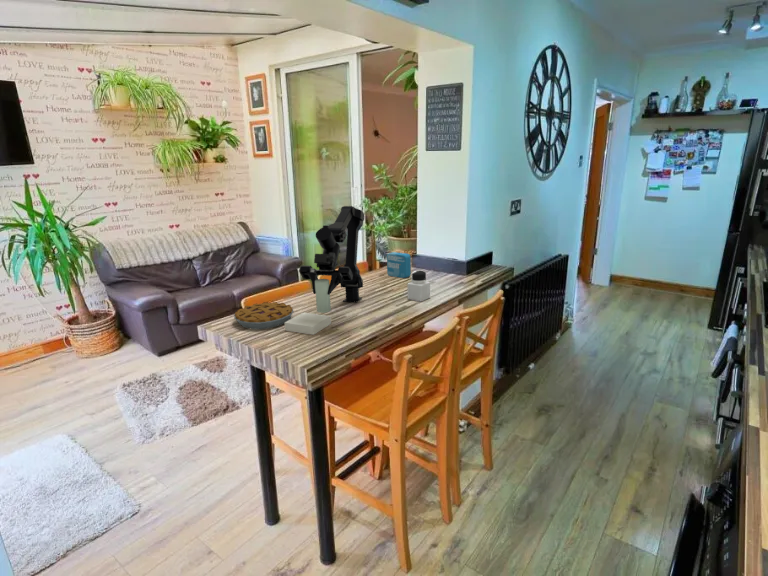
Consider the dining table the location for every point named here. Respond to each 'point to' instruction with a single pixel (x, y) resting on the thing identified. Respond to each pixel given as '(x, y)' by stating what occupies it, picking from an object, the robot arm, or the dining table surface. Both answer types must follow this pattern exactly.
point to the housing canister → (322, 295)
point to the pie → (264, 315)
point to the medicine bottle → (418, 287)
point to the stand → (307, 323)
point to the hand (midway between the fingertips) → (321, 293)
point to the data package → (398, 265)
